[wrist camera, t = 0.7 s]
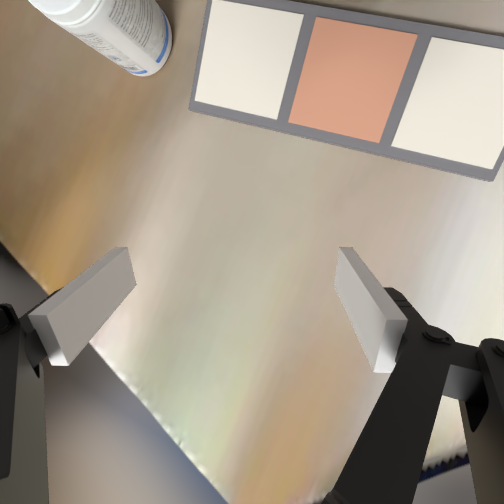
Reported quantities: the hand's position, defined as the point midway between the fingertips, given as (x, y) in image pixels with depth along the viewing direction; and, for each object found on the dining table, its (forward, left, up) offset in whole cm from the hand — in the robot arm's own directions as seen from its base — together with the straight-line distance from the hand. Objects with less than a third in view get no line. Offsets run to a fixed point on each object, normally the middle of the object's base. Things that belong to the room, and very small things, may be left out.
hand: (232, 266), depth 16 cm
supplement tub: (-20, -26, -25) cm, 41 cm away
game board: (-20, +4, -25) cm, 32 cm away
